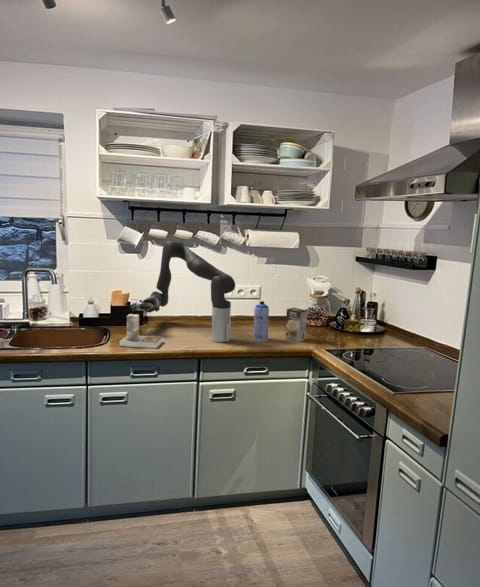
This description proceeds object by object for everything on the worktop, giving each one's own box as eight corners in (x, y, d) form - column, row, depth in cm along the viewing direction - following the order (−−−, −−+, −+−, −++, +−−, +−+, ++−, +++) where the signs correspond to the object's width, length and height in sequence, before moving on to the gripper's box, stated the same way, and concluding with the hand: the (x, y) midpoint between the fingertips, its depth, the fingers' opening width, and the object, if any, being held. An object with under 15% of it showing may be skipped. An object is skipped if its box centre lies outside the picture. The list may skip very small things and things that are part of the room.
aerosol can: (269, 338, 243) (271, 300, 240) (266, 341, 236) (267, 303, 233) (254, 336, 245) (256, 299, 242) (251, 340, 238) (252, 302, 235)
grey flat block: (163, 342, 229) (163, 336, 228) (156, 348, 217) (156, 342, 216) (128, 339, 230) (128, 334, 230) (119, 346, 218) (119, 340, 218)
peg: (139, 342, 226) (139, 314, 224) (136, 345, 221) (136, 316, 219) (130, 342, 226) (129, 314, 224) (126, 344, 222) (126, 315, 220)
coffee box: (284, 338, 244) (285, 308, 241) (291, 336, 248) (293, 307, 246) (298, 342, 238) (300, 311, 235) (305, 340, 242) (307, 310, 240)
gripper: (137, 296, 251) (127, 301, 235) (163, 298, 249) (155, 303, 233) (137, 310, 252) (127, 316, 236) (163, 311, 251) (154, 318, 235)
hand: (141, 310), depth 235 cm, fingers open, 8 cm apart
